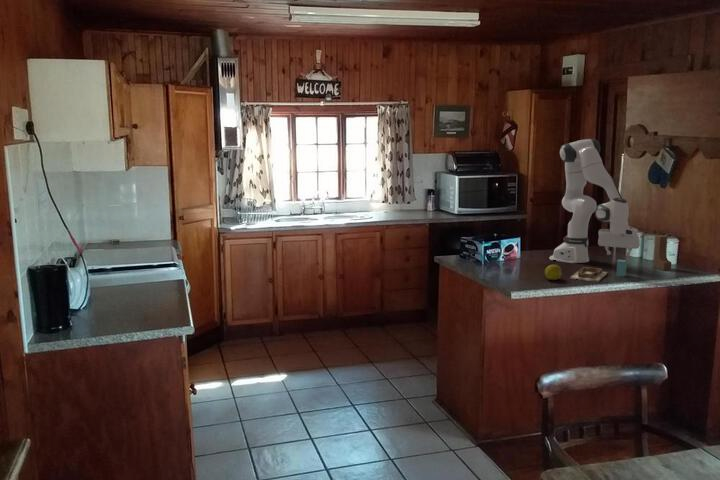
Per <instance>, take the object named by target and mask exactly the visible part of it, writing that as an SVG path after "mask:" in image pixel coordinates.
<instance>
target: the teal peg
mask: <svg viewBox="0 0 720 480" xmlns="http://www.w3.org/2000/svg"><path fill="white" fill-rule="evenodd" d="M627 261H628V260H626V259H618V260H617V261H616V272H615V273H616V275H615V276H616V277H623V278H624V277H626V276H627V264H628V262H627Z"/></svg>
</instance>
